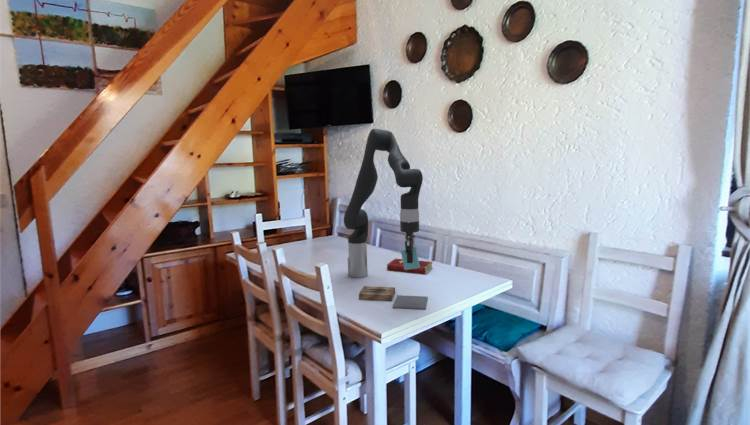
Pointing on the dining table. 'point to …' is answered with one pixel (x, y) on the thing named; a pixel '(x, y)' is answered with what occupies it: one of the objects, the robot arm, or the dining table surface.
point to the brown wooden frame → (377, 293)
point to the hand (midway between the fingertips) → (410, 261)
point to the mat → (410, 302)
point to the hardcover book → (399, 267)
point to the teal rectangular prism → (415, 260)
